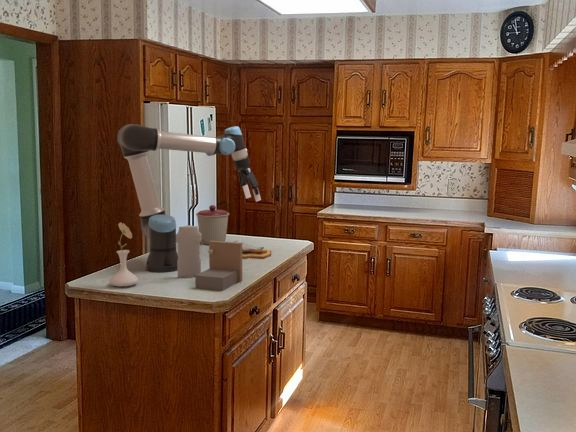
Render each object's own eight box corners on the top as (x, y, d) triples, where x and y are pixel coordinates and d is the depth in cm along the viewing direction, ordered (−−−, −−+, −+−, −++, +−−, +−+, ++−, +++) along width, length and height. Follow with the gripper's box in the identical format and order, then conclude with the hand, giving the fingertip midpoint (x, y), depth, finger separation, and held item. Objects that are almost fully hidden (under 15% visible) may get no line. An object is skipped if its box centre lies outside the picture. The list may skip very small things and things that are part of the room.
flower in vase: (140, 287, 236) (138, 224, 232) (110, 290, 232) (107, 226, 228) (136, 279, 248) (134, 219, 244) (107, 281, 244) (105, 221, 240)
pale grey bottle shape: (177, 278, 250) (175, 226, 247) (176, 276, 254) (175, 224, 251) (202, 277, 253) (201, 225, 249) (201, 274, 257) (200, 224, 253)
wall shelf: (193, 287, 236) (192, 247, 234) (211, 278, 251) (211, 240, 249) (225, 290, 231) (225, 250, 229) (242, 281, 246) (242, 242, 244)
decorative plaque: (205, 243, 290) (217, 236, 310) (205, 258, 292) (217, 250, 311) (266, 246, 285) (275, 238, 304) (266, 261, 286) (275, 252, 305)
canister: (230, 240, 336) (229, 203, 333) (229, 246, 318) (228, 207, 315) (197, 240, 335) (196, 203, 332) (195, 246, 317) (194, 207, 314)
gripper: (257, 157, 280) (269, 199, 286) (239, 154, 302) (251, 193, 308) (242, 162, 277) (256, 204, 283) (225, 159, 300) (238, 198, 305)
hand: (253, 199), depth 296 cm, fingers open, 13 cm apart
